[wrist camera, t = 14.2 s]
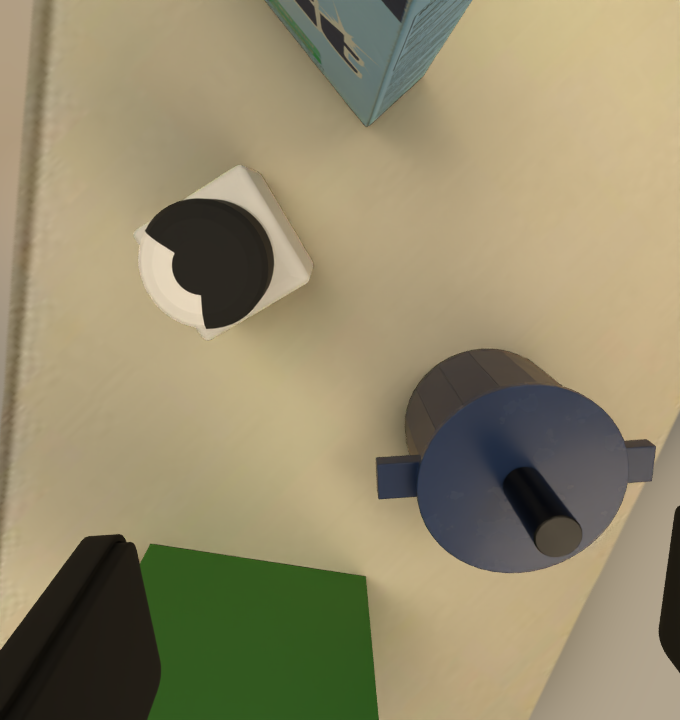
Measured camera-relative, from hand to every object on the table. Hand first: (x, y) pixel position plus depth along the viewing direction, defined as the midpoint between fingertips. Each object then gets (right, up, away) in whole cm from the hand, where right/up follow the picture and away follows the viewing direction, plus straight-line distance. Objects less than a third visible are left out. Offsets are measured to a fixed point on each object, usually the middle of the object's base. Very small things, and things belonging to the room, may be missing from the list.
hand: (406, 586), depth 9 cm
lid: (+10, -3, +22) cm, 24 cm away
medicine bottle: (-8, +12, +26) cm, 30 cm away
